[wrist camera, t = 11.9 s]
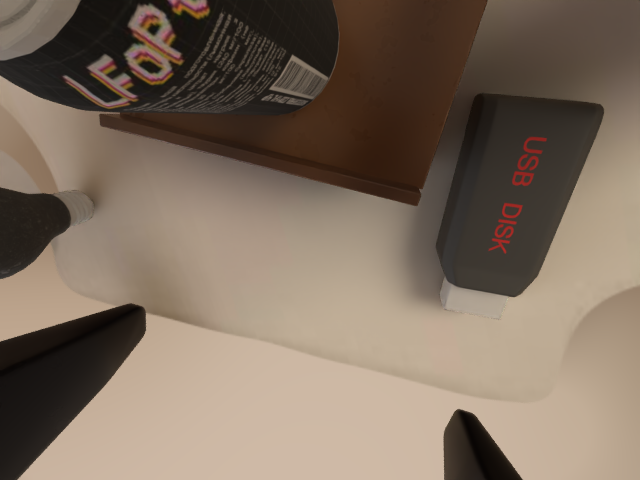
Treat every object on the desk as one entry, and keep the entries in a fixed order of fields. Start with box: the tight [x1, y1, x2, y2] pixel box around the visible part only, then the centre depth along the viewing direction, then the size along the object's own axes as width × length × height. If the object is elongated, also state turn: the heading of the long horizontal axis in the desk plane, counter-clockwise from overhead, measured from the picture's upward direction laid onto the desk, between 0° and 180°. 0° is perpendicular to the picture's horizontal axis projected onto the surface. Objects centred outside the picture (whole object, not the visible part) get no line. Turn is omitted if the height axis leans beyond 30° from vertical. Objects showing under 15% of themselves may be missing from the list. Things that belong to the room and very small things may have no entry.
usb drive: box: [436, 93, 604, 320], centre depth 17 cm, size 5×12×3 cm, turn 175°
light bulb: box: [0, 188, 94, 279], centre depth 20 cm, size 6×6×10 cm
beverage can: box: [0, 0, 339, 115], centre depth 8 cm, size 6×6×12 cm
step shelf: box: [99, 0, 488, 206], centre depth 15 cm, size 16×10×6 cm, turn 79°
